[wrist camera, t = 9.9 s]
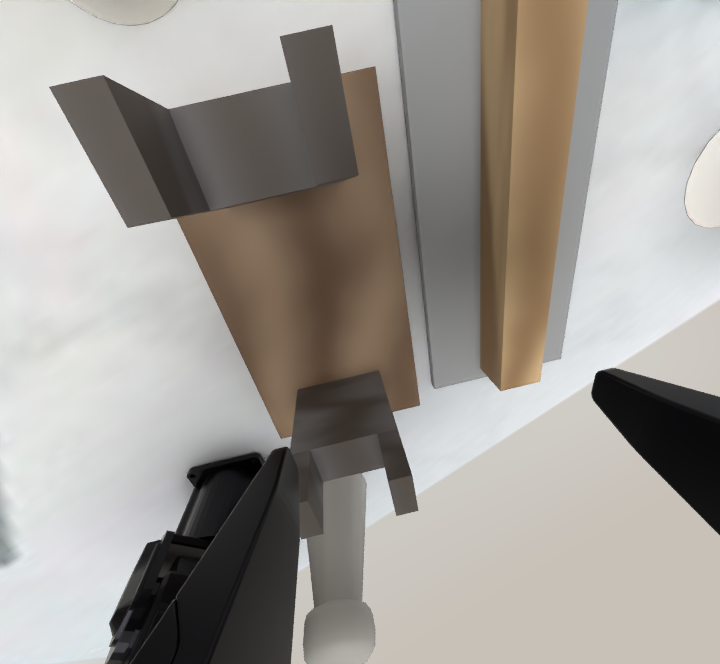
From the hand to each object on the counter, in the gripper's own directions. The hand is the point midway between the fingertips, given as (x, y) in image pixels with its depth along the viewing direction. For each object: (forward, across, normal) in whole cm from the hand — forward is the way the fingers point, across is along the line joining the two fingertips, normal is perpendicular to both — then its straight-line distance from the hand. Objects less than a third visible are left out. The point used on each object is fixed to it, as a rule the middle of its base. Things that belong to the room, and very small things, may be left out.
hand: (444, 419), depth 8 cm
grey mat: (+13, -9, -2) cm, 16 cm away
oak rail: (+12, -9, -2) cm, 15 cm away
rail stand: (+13, +4, 0) cm, 14 cm away
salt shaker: (+13, +7, +17) cm, 23 cm away
